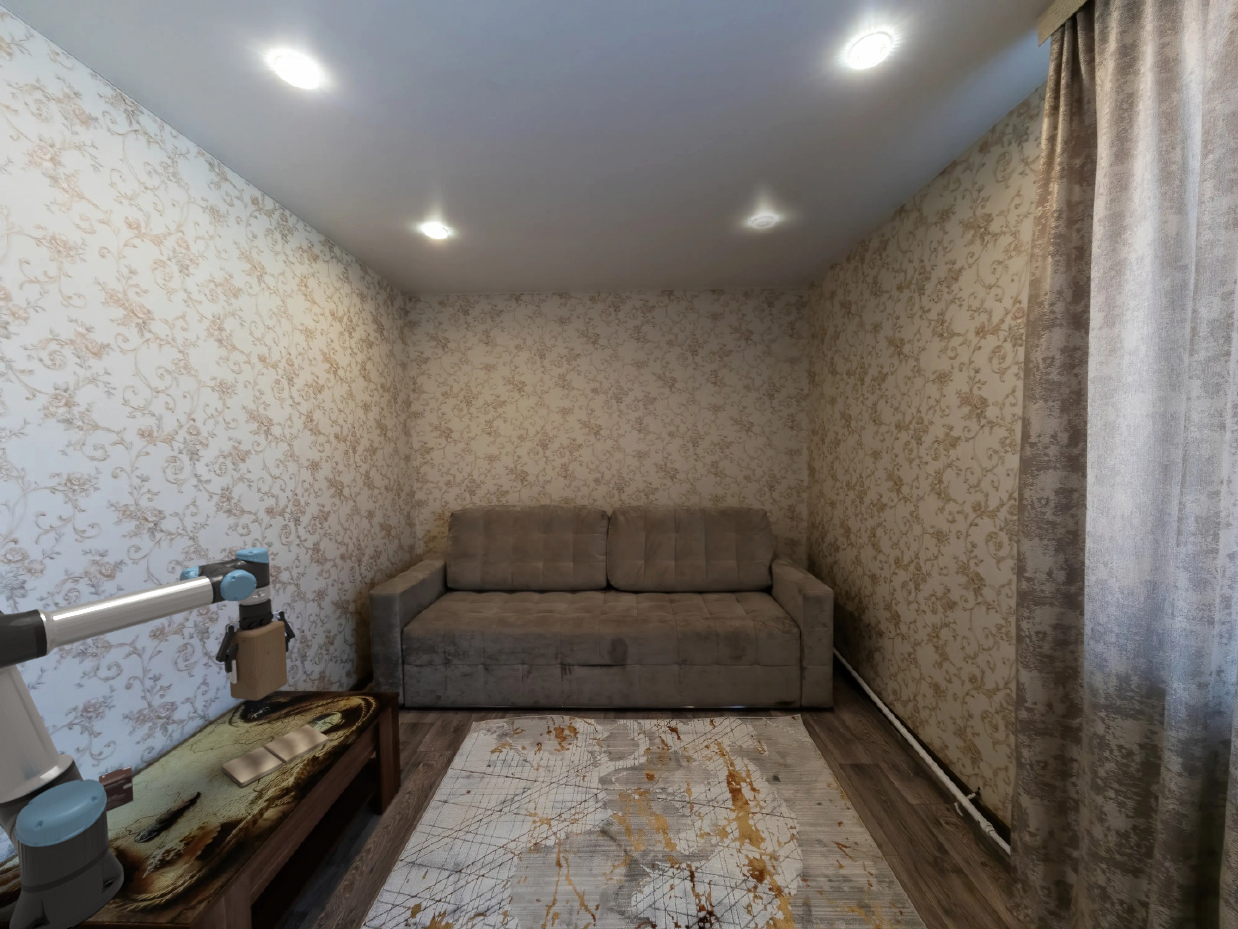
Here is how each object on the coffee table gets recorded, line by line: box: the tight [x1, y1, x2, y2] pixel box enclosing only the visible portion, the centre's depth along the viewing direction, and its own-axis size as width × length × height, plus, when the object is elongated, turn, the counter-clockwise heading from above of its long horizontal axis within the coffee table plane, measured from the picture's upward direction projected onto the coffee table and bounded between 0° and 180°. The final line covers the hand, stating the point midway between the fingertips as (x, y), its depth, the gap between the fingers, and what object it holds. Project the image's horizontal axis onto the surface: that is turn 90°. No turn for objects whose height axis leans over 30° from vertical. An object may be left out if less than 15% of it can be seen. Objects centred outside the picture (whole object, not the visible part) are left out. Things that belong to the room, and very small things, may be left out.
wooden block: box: [228, 620, 288, 702], centre depth 135 cm, size 10×10×20 cm
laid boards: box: [264, 724, 330, 765], centre depth 145 cm, size 12×14×1 cm
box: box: [98, 765, 134, 812], centre depth 122 cm, size 6×6×7 cm
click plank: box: [220, 746, 284, 788], centre depth 134 cm, size 10×14×1 cm
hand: (259, 672), depth 136 cm, fingers closed on wooden block, 12 cm apart
